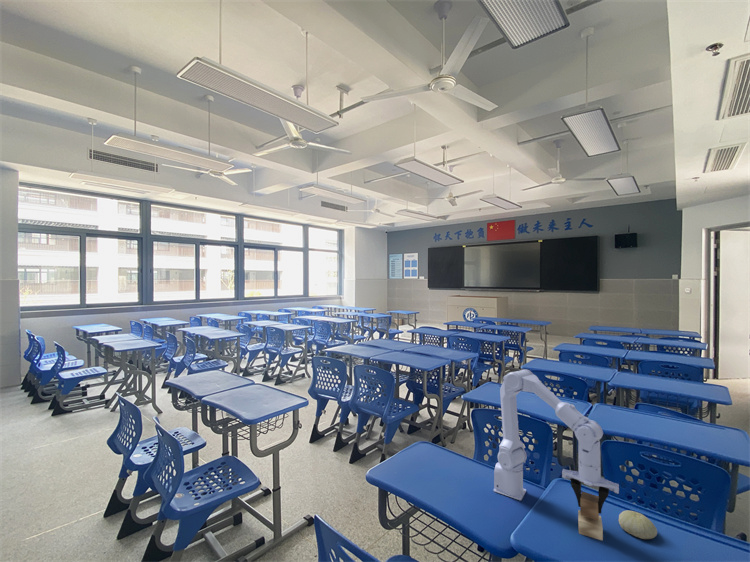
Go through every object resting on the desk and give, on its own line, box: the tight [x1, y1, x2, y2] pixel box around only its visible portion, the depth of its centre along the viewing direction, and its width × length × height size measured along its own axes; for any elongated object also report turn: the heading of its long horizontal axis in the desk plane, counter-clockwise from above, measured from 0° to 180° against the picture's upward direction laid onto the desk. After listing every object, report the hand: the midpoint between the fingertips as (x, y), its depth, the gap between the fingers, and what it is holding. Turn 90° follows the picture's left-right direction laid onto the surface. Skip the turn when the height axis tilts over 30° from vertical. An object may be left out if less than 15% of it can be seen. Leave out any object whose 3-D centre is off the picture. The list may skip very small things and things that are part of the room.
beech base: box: [577, 509, 604, 541], centre depth 104 cm, size 6×6×4 cm
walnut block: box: [579, 491, 600, 521], centre depth 104 cm, size 4×4×5 cm
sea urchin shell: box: [618, 509, 658, 540], centre depth 104 cm, size 9×8×8 cm
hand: (589, 508), depth 104 cm, fingers closed on walnut block, 4 cm apart
